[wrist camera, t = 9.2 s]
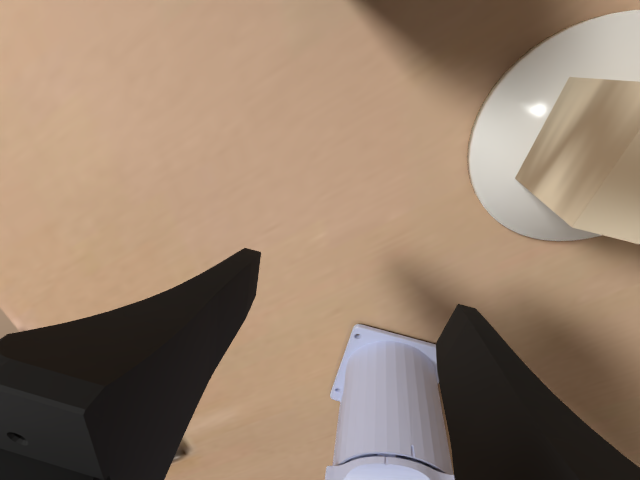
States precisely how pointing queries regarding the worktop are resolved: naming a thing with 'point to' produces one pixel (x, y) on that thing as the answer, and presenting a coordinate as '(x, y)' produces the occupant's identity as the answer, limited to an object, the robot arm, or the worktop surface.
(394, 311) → the worktop surface
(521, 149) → the coaster
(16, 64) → the worktop surface
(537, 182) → the beech block
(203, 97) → the worktop surface
